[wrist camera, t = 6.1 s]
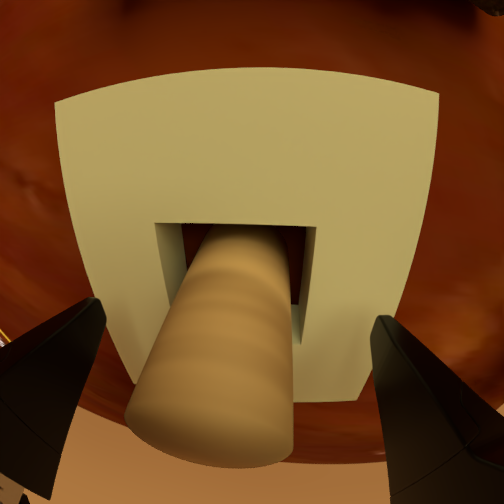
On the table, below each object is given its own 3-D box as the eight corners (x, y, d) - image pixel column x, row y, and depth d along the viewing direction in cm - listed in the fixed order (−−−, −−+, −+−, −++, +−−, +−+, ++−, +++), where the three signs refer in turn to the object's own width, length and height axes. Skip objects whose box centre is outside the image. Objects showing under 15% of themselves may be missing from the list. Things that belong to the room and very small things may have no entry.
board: (405, 93, 8) (439, 93, 6) (350, 364, 15) (356, 400, 13) (93, 98, 9) (54, 102, 7) (147, 351, 16) (133, 383, 14)
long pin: (285, 292, 13) (284, 471, 6) (205, 288, 13) (151, 454, 6) (290, 216, 11) (305, 412, 4) (198, 213, 11) (98, 384, 4)
